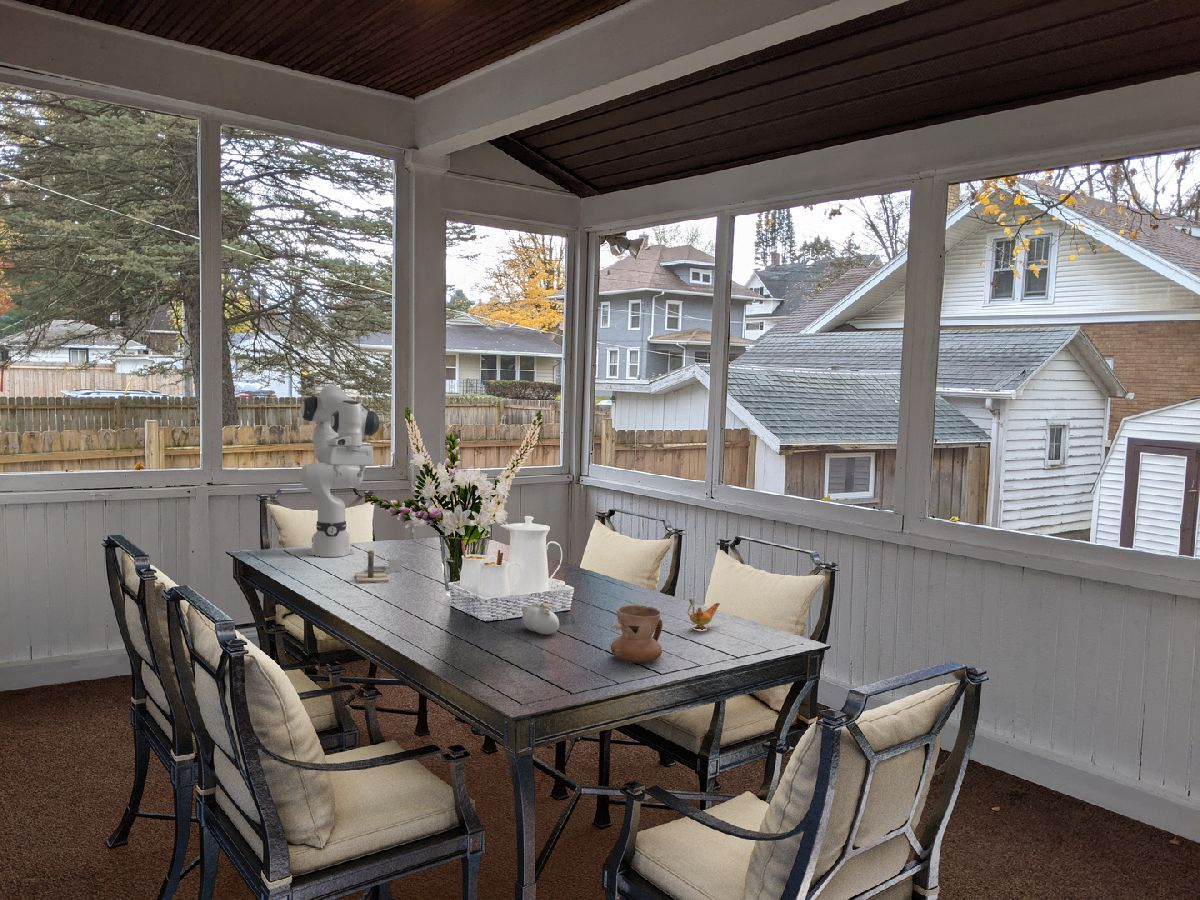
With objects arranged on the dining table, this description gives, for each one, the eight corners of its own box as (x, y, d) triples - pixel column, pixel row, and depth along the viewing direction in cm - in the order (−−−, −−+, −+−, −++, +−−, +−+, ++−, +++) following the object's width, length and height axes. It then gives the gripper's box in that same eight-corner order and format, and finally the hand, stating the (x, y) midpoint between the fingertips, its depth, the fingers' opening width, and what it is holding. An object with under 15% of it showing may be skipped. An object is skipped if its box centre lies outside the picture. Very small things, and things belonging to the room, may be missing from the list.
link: (366, 570, 351) (367, 559, 350) (400, 568, 355) (400, 557, 355) (368, 574, 343) (368, 563, 343) (402, 573, 348) (403, 562, 347)
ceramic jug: (630, 671, 241) (633, 620, 240) (596, 656, 252) (599, 607, 251) (677, 661, 253) (681, 612, 251) (643, 647, 264) (646, 600, 263)
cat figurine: (561, 606, 270) (527, 591, 280) (543, 623, 266) (509, 608, 275) (569, 629, 275) (535, 613, 285) (551, 646, 271) (518, 630, 280)
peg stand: (355, 575, 341) (355, 546, 340) (384, 574, 344) (385, 545, 343) (357, 583, 328) (358, 553, 327) (388, 582, 332) (388, 552, 331)
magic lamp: (727, 625, 290) (729, 592, 289) (695, 636, 277) (697, 601, 276) (709, 621, 295) (711, 588, 294) (677, 631, 281) (679, 597, 280)
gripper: (368, 442, 358) (367, 477, 357) (322, 440, 342) (321, 476, 342) (377, 442, 354) (376, 477, 353) (331, 440, 338) (330, 477, 338)
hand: (349, 477), depth 347 cm, fingers open, 8 cm apart
